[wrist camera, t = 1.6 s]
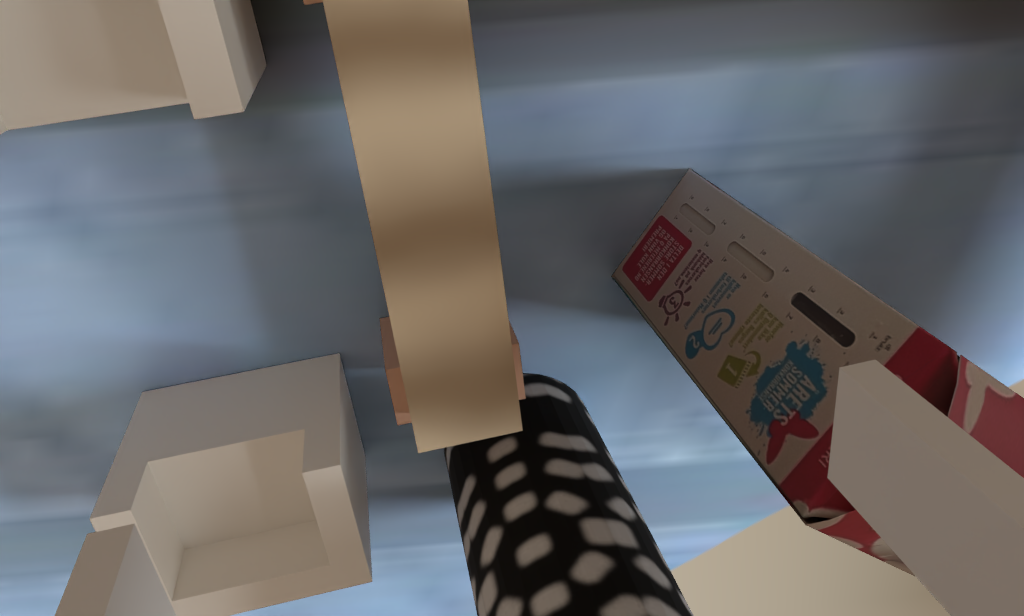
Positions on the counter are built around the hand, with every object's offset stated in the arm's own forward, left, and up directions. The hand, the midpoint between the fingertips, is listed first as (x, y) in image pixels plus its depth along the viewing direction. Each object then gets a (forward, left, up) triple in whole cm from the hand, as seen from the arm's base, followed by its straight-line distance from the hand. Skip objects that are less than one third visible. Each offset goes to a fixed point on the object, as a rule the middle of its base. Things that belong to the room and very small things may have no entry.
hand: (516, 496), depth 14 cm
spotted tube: (-14, +9, -23) cm, 29 cm away
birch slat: (0, 0, -18) cm, 18 cm away
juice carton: (-15, -5, -23) cm, 28 cm away
